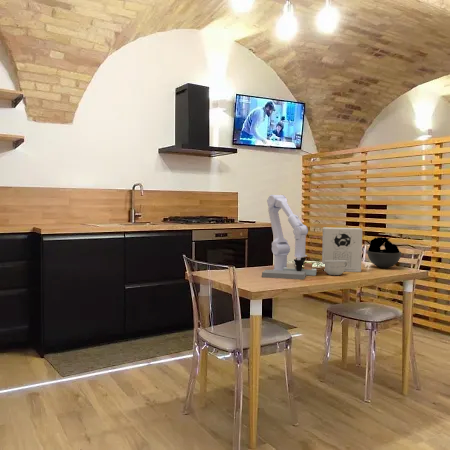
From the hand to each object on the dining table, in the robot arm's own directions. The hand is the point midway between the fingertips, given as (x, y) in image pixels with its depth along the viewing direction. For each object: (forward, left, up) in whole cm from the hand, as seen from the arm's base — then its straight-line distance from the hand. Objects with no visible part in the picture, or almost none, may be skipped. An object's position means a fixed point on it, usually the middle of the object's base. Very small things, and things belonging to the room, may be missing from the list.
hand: (299, 271), depth 260 cm
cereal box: (-21, +22, -2) cm, 30 cm away
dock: (+12, -7, -1) cm, 14 cm away
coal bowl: (-42, +47, -2) cm, 63 cm away
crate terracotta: (0, +5, +2) cm, 5 cm away
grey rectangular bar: (0, 0, -2) cm, 2 cm away
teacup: (-5, +20, -2) cm, 21 cm away
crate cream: (0, -5, +2) cm, 5 cm away
